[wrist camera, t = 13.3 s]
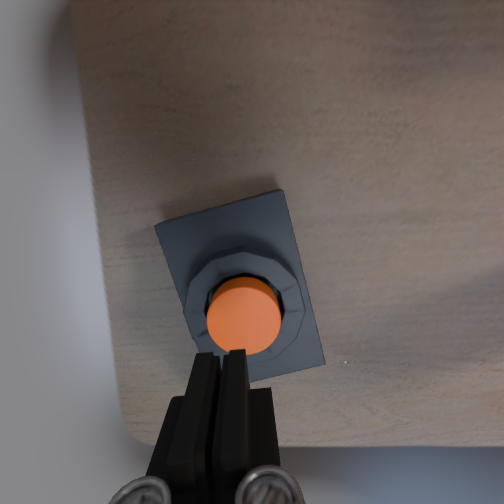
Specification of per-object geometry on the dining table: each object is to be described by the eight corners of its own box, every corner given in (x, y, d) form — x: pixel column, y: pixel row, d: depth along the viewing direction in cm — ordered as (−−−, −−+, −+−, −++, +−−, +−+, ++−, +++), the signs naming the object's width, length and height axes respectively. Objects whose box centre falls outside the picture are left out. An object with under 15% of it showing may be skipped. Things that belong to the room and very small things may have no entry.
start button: (201, 286, 17) (196, 297, 15) (268, 268, 17) (270, 278, 15) (221, 346, 18) (218, 363, 16) (285, 330, 17) (289, 345, 16)
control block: (164, 220, 20) (142, 230, 16) (279, 188, 19) (287, 190, 15) (216, 371, 22) (209, 411, 18) (318, 346, 22) (333, 382, 18)
